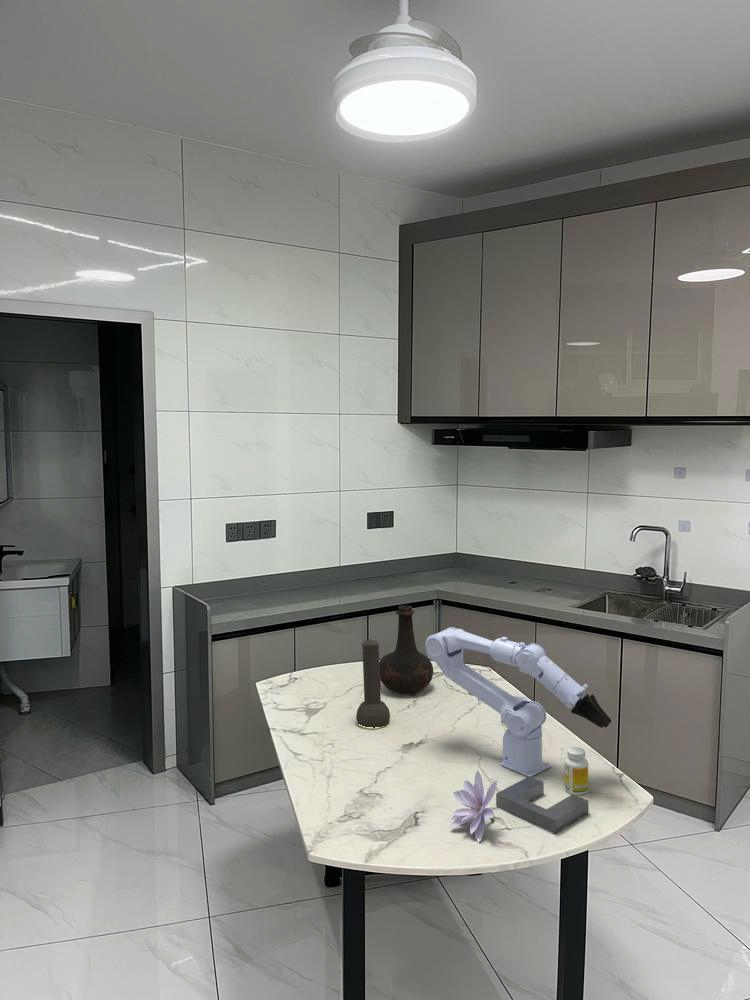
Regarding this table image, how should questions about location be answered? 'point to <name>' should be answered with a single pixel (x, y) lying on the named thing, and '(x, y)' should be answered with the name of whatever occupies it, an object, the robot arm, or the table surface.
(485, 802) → the water lily
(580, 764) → the supplement bottle
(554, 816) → the grey u-shaped block
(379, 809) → the table surface
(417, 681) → the glass bottle
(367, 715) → the flashlight
